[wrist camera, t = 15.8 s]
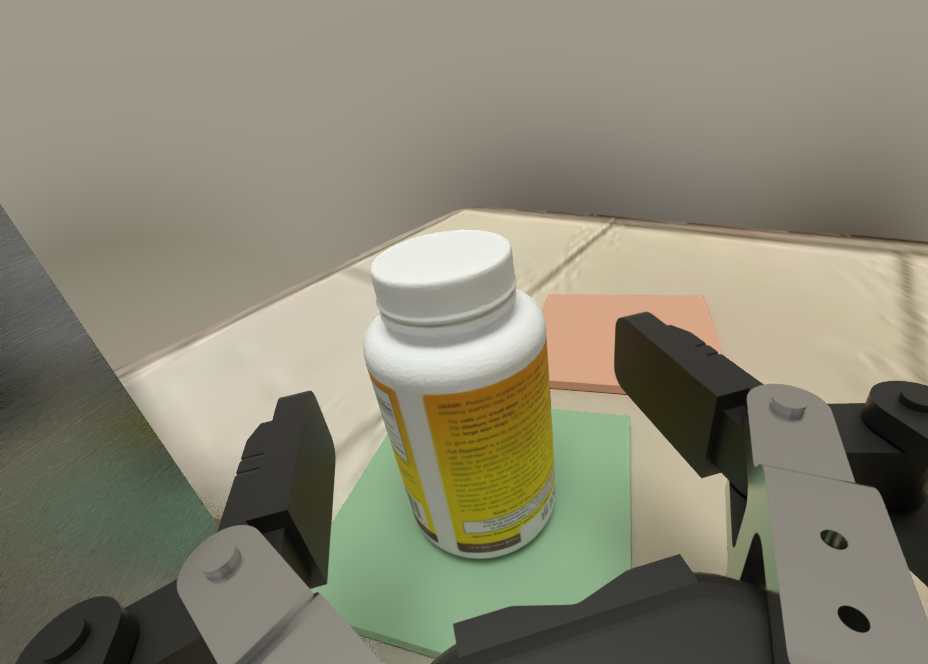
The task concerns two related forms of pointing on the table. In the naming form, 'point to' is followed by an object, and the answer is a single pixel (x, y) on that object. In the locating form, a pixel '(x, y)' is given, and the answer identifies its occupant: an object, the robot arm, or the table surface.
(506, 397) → the supplement bottle
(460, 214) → the table surface
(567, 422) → the green pad
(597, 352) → the terracotta pad
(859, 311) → the table surface
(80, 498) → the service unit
